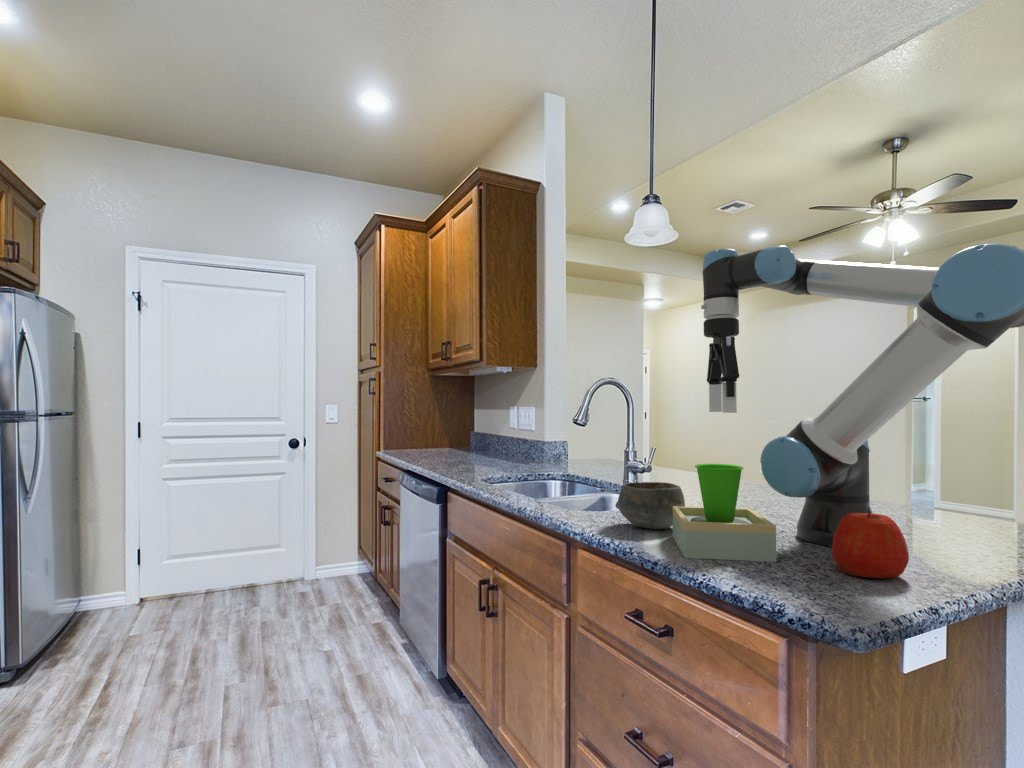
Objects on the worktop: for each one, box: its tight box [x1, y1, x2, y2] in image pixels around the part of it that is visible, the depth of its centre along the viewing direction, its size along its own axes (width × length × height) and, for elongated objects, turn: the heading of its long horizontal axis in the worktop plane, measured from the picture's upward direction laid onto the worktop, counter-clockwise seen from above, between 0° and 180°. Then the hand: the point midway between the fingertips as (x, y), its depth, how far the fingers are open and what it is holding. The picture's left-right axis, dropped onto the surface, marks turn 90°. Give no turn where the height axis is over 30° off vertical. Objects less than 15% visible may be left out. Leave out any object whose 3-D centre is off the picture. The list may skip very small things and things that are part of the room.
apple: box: [831, 511, 910, 579], centre depth 90 cm, size 11×11×11 cm
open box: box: [672, 506, 777, 563], centre depth 106 cm, size 16×16×6 cm
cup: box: [694, 463, 744, 523], centre depth 107 cm, size 9×9×11 cm
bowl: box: [615, 481, 686, 530], centre depth 124 cm, size 14×15×10 cm
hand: (722, 412), depth 121 cm, fingers open, 13 cm apart
